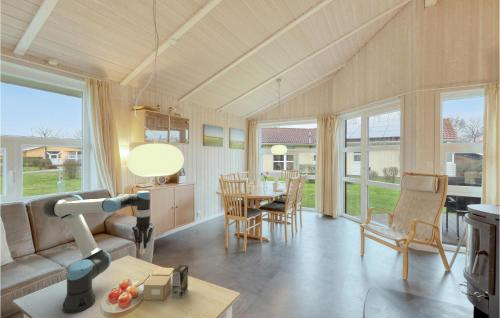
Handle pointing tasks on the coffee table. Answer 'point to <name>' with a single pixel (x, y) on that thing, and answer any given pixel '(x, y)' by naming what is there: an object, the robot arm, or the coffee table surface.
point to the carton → (158, 284)
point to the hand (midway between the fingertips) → (142, 253)
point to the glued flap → (141, 281)
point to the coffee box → (180, 281)
